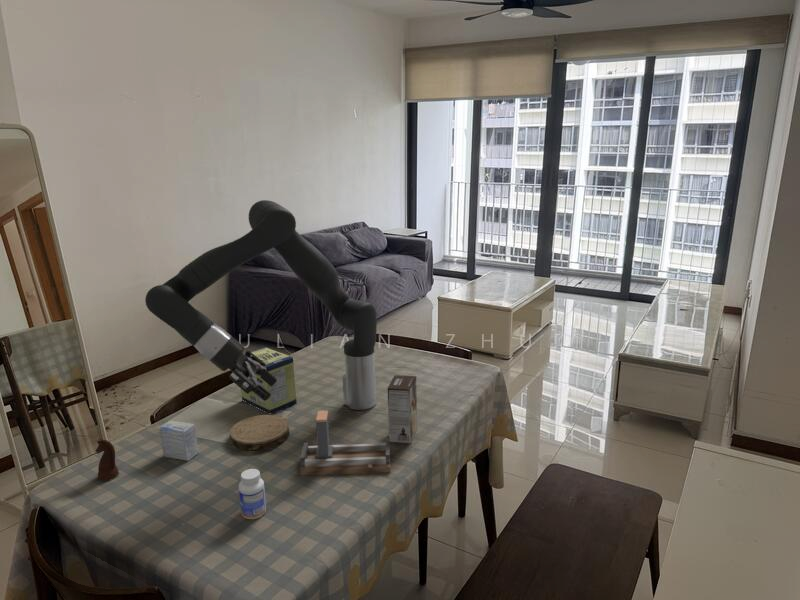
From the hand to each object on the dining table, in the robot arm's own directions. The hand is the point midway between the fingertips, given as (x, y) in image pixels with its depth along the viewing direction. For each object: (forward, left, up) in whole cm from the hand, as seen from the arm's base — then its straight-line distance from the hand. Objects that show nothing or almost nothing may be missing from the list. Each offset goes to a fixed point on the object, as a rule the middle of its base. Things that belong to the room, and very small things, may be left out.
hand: (271, 390), depth 135 cm
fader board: (+15, +9, -21) cm, 27 cm away
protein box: (-27, +27, -21) cm, 44 cm away
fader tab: (+10, +6, -19) cm, 22 cm away
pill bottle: (+8, -17, -21) cm, 28 cm away
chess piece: (-34, -23, -21) cm, 46 cm away
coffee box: (+21, +28, -21) cm, 41 cm away
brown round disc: (-14, +9, -21) cm, 27 cm away
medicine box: (-26, -8, -21) cm, 35 cm away
